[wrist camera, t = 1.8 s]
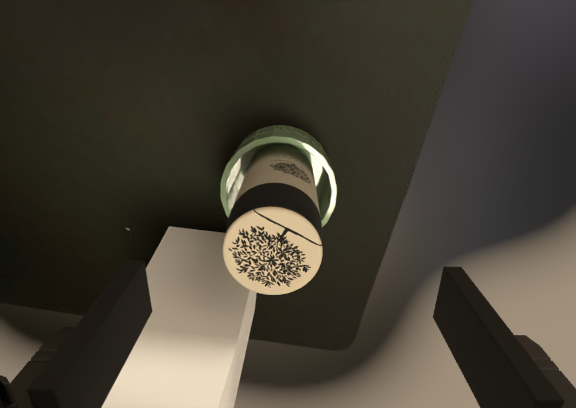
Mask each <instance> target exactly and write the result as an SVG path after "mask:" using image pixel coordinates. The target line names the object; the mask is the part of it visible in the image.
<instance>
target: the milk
mask: <svg viewBox="0 0 576 408" xmlns="http://www.w3.org/2000/svg"><path fill="white" fill-rule="evenodd" d="M225 235H226V233H222V232H213V231H204V230H196V229H187V228H178V227H170V226H169V228H168V229H167V231H166V233H165V235H164V237H163V239H162V240H161V242H160V244H159V246H158V248H157V249H156V251H155V253H154V255H153V257H152V259H151V260H150V262H149V264H148V266H147V268H146V274H147V280H148V286H149V293H150V299H151V305H152V313H151V315H150V317H149V319H148V321H147V323H146V325H145V326H144V328H143V330H142V332H141V334H140V336H139V338H138V340H137V342H136V343H135V345H134V347H133V349H132V351H131V353H130V355H129V357H128V359H127V360H126V362H125V364H124V366H123V368H122V370H121V372H120V374H119V375H118V377H117V379H116V381H115V383H114V385H113V387H112V389H111V391H110V392H109V394H108V396H107V398H106V400H105V402H104V404H103V406H102V408H234V404H235V399H236V394H237V389H238V385H239V380H240V375H241V371H242V366H243V361H244V357H245V352H246V347H247V343H248V338H249V333H250V329H251V324H252V319H253V315H254V310H255V302H256V293H257V292H255V291H252V290H250V289H248V288H246V287H244V286H243V285H241V284H240V283H239V282H237V281H236V280H235V279H234V278H233V276H232V275H231V274H230V273H229V271H228V269H227V267H226V265H225V262H224V259H223V252H222V247H223V241H224V237H225Z"/></svg>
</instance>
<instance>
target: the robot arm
mask: <svg viewBox="0 0 576 408" xmlns="http://www.w3.org/2000/svg"><path fill="white" fill-rule="evenodd" d="M151 313H152V305H151V299H150V293H149V286H148V280H147V274H146V267H145V261H129V260H127V261H126V262H125V264H124V265H123V266H122V268H121V269H120V270H119V271H118V273H117V274H116V275H115V277H114V278H113V279H112V280H111V282H110V283H109V284H108V286H107V287H106V288H105V289H104V291H103V292H102V293H101V295H100V296H99V297H98V298H97V300H96V301H95V302H94V304H93V305H92V306H91V307H90V309H89V310H88V311H87V313H86V314H85V315H84V316H83V318H82V319H81V320H80V322H79V323H78V324H77V325H76V327H63V328H61V329H60V330H59V331H57V332H56V333H54V334H53V335H52V336H50V337H49V338H48V339H47V340H46V342H45V343H44V344H43V345H42V346H41V348H40V349H39V351H37V352H36V353H35V355H34V356H33V357H32V358H31V361H29V362H28V363H27V364H26V365H25V366H24V368H23V369H22V370H21V371H20V372H19V374H18V375H17V376H16V377H15V378H14V380H13V381H12V382H11V383H9V381H8V380H7V378H6V377H3V376H0V408H102V406H103V404H104V402H105V400H106V398H107V396H108V394H109V392H110V391H111V389H112V387H113V385H114V383H115V381H116V379H117V377H118V375H119V374H120V372H121V370H122V368H123V366H124V364H125V362H126V360H127V359H128V357H129V355H130V353H131V351H132V349H133V347H134V345H135V343H136V342H137V340H138V338H139V336H140V334H141V332H142V330H143V328H144V326H145V325H146V323H147V321H148V319H149V317H150V315H151ZM433 318H434V320H435V322H436V324H437V326H438V328H439V329H440V331H441V333H442V335H443V337H444V339H445V341H446V343H447V345H448V347H449V348H450V350H451V352H452V354H453V356H454V358H455V360H456V362H457V364H458V366H459V368H460V369H461V371H462V373H463V375H464V377H465V379H466V381H467V383H468V384H469V386H470V388H471V390H472V392H473V394H474V396H475V398H476V400H477V402H478V404H479V406H480V408H576V389H575V387H574V386H573V385H572V384H571V383H570V381H569V380H568V379H567V378H566V377H565V376H564V374H563V373H562V372H561V371H559V368H558V367H557V366H556V365H555V363H554V362H553V361H551V360H550V357H548V355H547V354H546V353H545V352H544V350H543V349H542V348H541V347H540V346H539V345H538V344H537V343H535V342H534V341H532V340H531V339H530V338H528V337H527V336H524V335H513V333H512V332H511V331H510V329H509V328H508V327H507V326H506V324H505V323H504V322H503V320H502V319H501V318H500V317H499V315H498V314H497V313H496V311H495V310H494V309H493V307H492V306H491V305H490V304H489V302H488V301H487V300H486V298H485V297H484V296H483V295H482V293H481V292H480V291H479V289H478V288H477V287H476V286H475V284H474V283H473V282H472V281H471V279H470V278H469V277H468V275H467V274H466V273H465V271H464V270H463V269H462V267H444V268H443V272H442V277H441V282H440V287H439V291H438V296H437V301H436V305H435V310H434V315H433Z"/></svg>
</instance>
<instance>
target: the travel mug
mask: <svg viewBox="0 0 576 408" xmlns="http://www.w3.org/2000/svg"><path fill="white" fill-rule="evenodd" d="M322 235H323V231H322V223H321V217H320V211H319V204H318V198H317V192H316V186H315V179H314V173H313V169H312V166H311V164H310V162H309V160H308V159H307V157H306V156H305V155H304V154H303V153H301V152H300V151H299V150H297V149H295V148H293V147H290V146H285V145H274V146H270V147H267V148H265V149H263V150H261V151H260V152H258V153H257V154H256V155H255V156H254V157H253V159H252V160H251V162H250V164H249V166H248V169H247V171H246V174H245V176H244V179H243V182H242V184H241V187H240V189H239V192H238V194H237V197H236V200H235V202H234V205H233V207H232V210H231V213H230V215H229V218H228V221H227V226H226V235H225V237H224V241H223V247H222V252H223V259H224V262H225V265H226V267H227V269H228V271H229V273H230V274H231V275H232V276H233V278H234V279H235V280H236V281H237V282H239V283H240V284H241V285H243V286H244V287H246V288H248V289H250V290H252V291H255V292H258V293H262V294H268V295H279V294H285V293H289V292H292V291H295V290H297V289H299V288H301V287H302V286H304V285H305V284H307V283H308V282H309V281H310V280H311V279H312V278H313V277H314V275H315V274H316V272H317V271H318V269H319V266H320V264H321V260H322V244H321V242H322Z"/></svg>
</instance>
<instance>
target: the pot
mask: <svg viewBox="0 0 576 408" xmlns="http://www.w3.org/2000/svg"><path fill="white" fill-rule="evenodd" d="M274 145H285V146H290V147H293V148H295V149H297V150H299V151H300V152H301V153H303V154H304V155H305V156H306V157H307V159H308V160H309V162H310V164H311V166H312V169H313V173H314V179H315V186H316V192H317V198H318V204H319V211H320V217H321V223H322V227H323V226H324V225H325V224H326V223H327V221H328V220H329V218H330V216H331V214H332V212H333V210H334V208H335V203H336V195H337V186H336V181H335V177H334V172H333V169H332V166H331V163H330V160H329V157H328V155H327V154H326V152H325V150H324V149H323V147H322V146H321V144H320V143H319V142H318V141H317V140H316V139H315V138H314V137H312V136H311V135H310V134H308V133H306V132H305V131H303V130H300V129H298V128H295V127H291V126H284V125H275V126H269V127H265V128H262V129H259V130H257V131H255V132H253V133H252V134H250V135H249V136H248V137H246V138H245V139H244V140H243V141H242V142H241V143H240V145H239V146H238V147H237V148H236V150H235V151H234V153H233V155H232V156H231V158H230V160H229V161H228V163H227V165H226V167H225V170H224V173H223V176H222V179H221V201H222V204H223V207H224V210H225V213H226V215H227V217H228V218H229V215H230V213H231V210H232V207H233V205H234V202H235V200H236V197H237V194H238V192H239V189H240V187H241V184H242V182H243V179H244V176H245V174H246V171H247V169H248V166H249V164H250V162H251V160H252V159H253V157H254V156H255V155H256V154H257V153H258V152H260V151H261V150H263V149H265V148H267V147H270V146H274Z"/></svg>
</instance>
